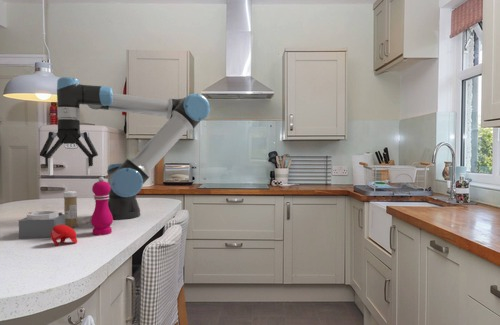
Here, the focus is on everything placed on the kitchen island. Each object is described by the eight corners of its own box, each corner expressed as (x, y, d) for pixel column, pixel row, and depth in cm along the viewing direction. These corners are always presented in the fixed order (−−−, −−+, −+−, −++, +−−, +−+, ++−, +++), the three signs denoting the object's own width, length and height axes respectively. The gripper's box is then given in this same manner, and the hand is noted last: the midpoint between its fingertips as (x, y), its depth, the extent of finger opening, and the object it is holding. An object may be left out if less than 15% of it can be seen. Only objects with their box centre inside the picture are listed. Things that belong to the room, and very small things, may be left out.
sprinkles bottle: (62, 226, 138) (61, 191, 137) (74, 224, 141) (73, 190, 141) (67, 228, 135) (66, 192, 134) (79, 226, 138) (79, 191, 138)
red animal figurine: (44, 237, 108) (62, 226, 108) (49, 226, 114) (65, 216, 114) (62, 254, 112) (79, 244, 112) (66, 243, 117) (82, 234, 117)
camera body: (65, 230, 131) (65, 209, 131) (54, 237, 121) (53, 214, 121) (33, 231, 130) (32, 210, 129) (19, 238, 120) (18, 215, 119)
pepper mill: (117, 231, 129) (116, 176, 128) (103, 236, 122) (102, 177, 122) (101, 230, 131) (100, 175, 131) (86, 234, 125) (85, 177, 124)
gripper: (28, 118, 131) (29, 175, 132) (100, 118, 134) (100, 175, 135) (38, 119, 138) (39, 174, 139) (105, 120, 142) (106, 174, 142)
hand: (69, 175), depth 137 cm, fingers open, 13 cm apart
